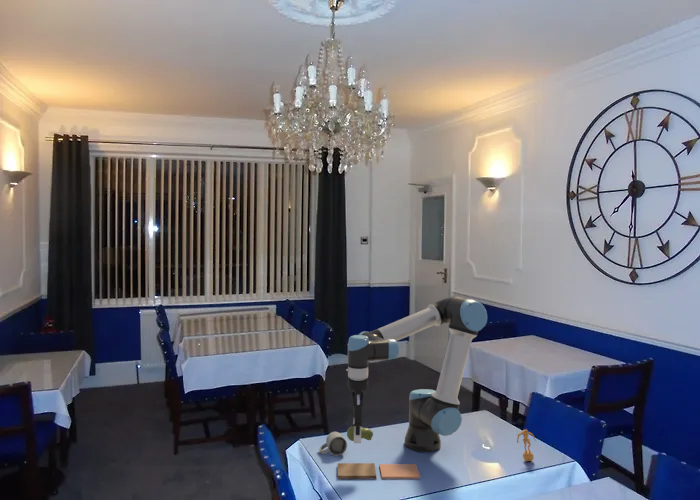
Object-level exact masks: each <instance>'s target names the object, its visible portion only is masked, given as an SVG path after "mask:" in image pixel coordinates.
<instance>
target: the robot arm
mask: <svg viewBox="0 0 700 500" xmlns="http://www.w3.org/2000/svg"><path fill="white" fill-rule="evenodd" d="M486 309H487V308H485V305H483V303H481V302H480V301H478V300H477V301H476V300H474V299H472V298H464V297H461V296H449V297H445V298H442V299H439V300H437V301H434V302H433V303H430V304H428V305H427V307H426V308H424V309H422V310H420V311H418V312H415V313H413V314H410V315H408V316H405V317H403V318H401V319H397V320H395V321H394V322H390V323H388V324H387V325H384V326H382V327H379V328H377V329H374V330H372V331H366V330H365V331H361V332H360V333H358V334H354V335H351V336H350V337H349V338H348V342H347V353H348V354H347V356H348V357H347V368H346V369H345V371H346V372H347V376H348V377H347V388H348V390H350V391H352V393H351V398H352V406H353V409H352V411H353V412H352V414H353V416H352V417H353V420H352V421H353V422H352V425H351V426H354V441H353V444H362V439H361V427H362V426H363V424H362V421H363V420H362V419H363V413H362V412H363V410H362V408H363V402H364V401H363V399H364V394H363V391H366V390H367V389H368V388H369V379H368V377H369V362H374V361H386V360H387V361H389V360H394V359H396V358H397V357H398V356H399V352H400V351H399V350H400V347H399V344H398V342H397V341H400V340H403V339H406V338H408V337H410V336H413V335H414V334H417V333H420V332H421V331H423V330H426V329H428V328H431V327H433V326H436V327H440V326H441V325H445V324H448V330H449V332H450V334H449V335H450V336H449V340H448V343H447V348H446V351H445V356H444V359H443V363H442V366H441V370H440V371H441V372H440V374H439V378H438V382H437V387H436V390H434V389H429V388H428V389H427V388H425V389H424V388H420V389H414V390H412V391H410V393H409V396H408V398H409V399H408V401H409V402H408V403H409V405H408V409H409V410H408V411H409V412H408V428H407V430H406V434H405V436H404V445H405V446H406V447H407V448H408V449H410V450H413V451H416V452H422V453H424V452H425V453H429V452H435V451H438V450H440V449H441V445H442V440H441V437H440V435H441V436H444V437H445V436H446V437H448V436H451V435H453V434H454V433H456V432H457V431H458V430H459V429H460V426H461V424H462V421H463V419H462V414H461V412H460V411H459V409H460V404H461V402H460V401H459V399H458V396H459V392H460V389H461V384H462V380H463V376H464V373H465V369H466V365H467V360H468V357H469V352H470V349H471V345H472V341H473V339H475V338H476V337H477V336H478V333H479V331H481V330H482V329H484V327H486V325H487V322H488V313H487V312H488V311H487V310H486Z"/></svg>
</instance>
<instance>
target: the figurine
mask: <svg viewBox="0 0 700 500" xmlns="http://www.w3.org/2000/svg"><path fill="white" fill-rule="evenodd" d="M521 435H523V438H522V442H523V445H524V450H525V451H524V452H523V454H522V458H523V460H524V461H525V462H527V461H531V462H533V460H534V454H533V453H532V451H531V449H530V447H531V445H532V444H531V441H530V438H529V435H531V436H532V438H533V439H534V440H535V442H537V439H536V437H535V435H534V434H533V433H532V432H530V431H528V429H523V430H522V431H520V432H519V433H518V434H517V439H516V443H517V444H519V442H520V441H519V438H520V436H521Z"/></svg>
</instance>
